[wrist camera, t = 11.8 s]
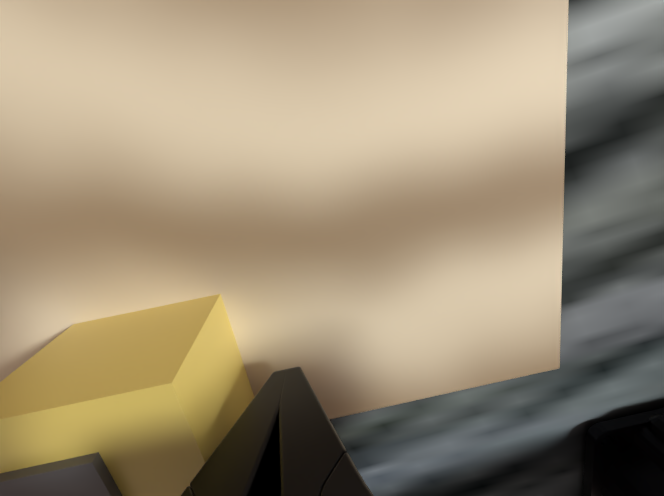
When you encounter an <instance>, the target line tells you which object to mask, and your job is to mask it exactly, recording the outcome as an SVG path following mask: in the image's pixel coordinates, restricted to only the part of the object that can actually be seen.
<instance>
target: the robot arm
mask: <svg viewBox="0 0 664 496" xmlns="http://www.w3.org/2000/svg"><path fill="white" fill-rule="evenodd" d="M181 496H374V495H373V494H372V492H371V491H370V490H369V488H368V487H367V485H366V484H365V482H364V480H363V479H362V477H361V475H360V474H359V472H358V470H357V469H356V467H355V465H354V463H353V462H352V460H351V458H350V456H349V454H348V453H347V451H346V449H345V447H344V445H343V444H342V442H341V440H340V438H339V436H338V434H337V433H336V431H335V429H334V427H333V425H332V423H331V422H330V420H329V418H328V416H327V414H326V413H325V411H324V409H323V407H322V405H321V403H320V402H319V400H318V398H317V396H316V394H315V392H314V391H313V389H312V387H311V385H310V383H309V381H308V380H307V378H306V376H305V374H304V372H303V370H302V369H301V367H293V368H289V369H284V370H279V371H275V372H273V373H272V374H271V376H270V377H269V378H268V380H267V381H266V382H265V384H264V385H263V386H262V388H261V389H260V390H259V392H258V393H257V394H256V396H255V397H254V398H253V400H252V401H251V402H250V404H249V405H248V406H247V408H246V409H245V410H244V412H243V413H242V414H241V416H240V417H239V418H238V420H237V421H236V422H235V424H234V425H233V427H232V428H231V429H230V431H229V432H228V433H227V435H226V436H225V437H224V439H223V440H222V441H221V443H220V444H219V445H218V447H217V448H216V449H215V451H214V452H213V453H212V455H211V456H210V457H209V459H208V460H207V461H206V463H205V464H204V465H203V467H202V468H201V469H200V471H199V472H198V473H197V475H196V476H195V477H194V479H193V480H192V481H191V483H190V486H188V487H187V488H186V489H185V490H184V492H183V493H182V494H181ZM583 496H664V408H661V409H656V410H652V411H647V412H643V413H638V414H634V415H630V416H625V417H621V418H616V419H612V420H607V421H603V422H599V423H596V424H594V425H593V426H591V427H590V428H589V430H588V431H587V434H586V445H585V462H584V479H583Z"/></svg>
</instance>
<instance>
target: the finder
mask: <svg viewBox="0 0 664 496" xmlns="http://www.w3.org/2000/svg"><path fill="white" fill-rule="evenodd" d="M253 398H254V394H253V391H252V388H251V385H250V382H249V379H248V376H247V373H246V370H245V367H244V364H243V361H242V358H241V355H240V352H239V349H238V345H237V342H236V339H235V336H234V333H233V330H232V327H231V324H230V321H229V318H228V315H227V312H226V309H225V306H224V303H223V300H222V297H221V294H217V295H212V296H207V297H202V298H198V299H193V300H188V301H183V302H178V303H173V304H169V305H164V306H159V307H154V308H149V309H145V310H140V311H135V312H130V313H125V314H120V315H116V316H111V317H106V318H101V319H96V320H92V321H87V322H82V323H77V324H73V325H72V326H70V327H69V328H68V329H67V330H65V331H64V332H63V333H62V334H60V335H59V336H58V337H57V338H55V339H54V340H53V341H51V342H50V343H49V344H48V345H46V346H45V347H44V348H43V349H41V350H40V351H39V352H38V353H36V354H35V355H34V356H33V357H31V358H30V359H29V360H27V361H26V362H25V363H24V364H22V365H21V366H20V367H19V368H17V369H16V370H15V371H14V372H12V373H11V374H10V375H9V376H7V377H6V378H5V379H3V380H2V381H1V382H0V496H181V494H182V493H183V492H184V490H185V489H186V488H187V487H188V486H190V483H191V481H192V480H193V479H194V477H195V476H196V475H197V473H198V472H199V471H200V469H201V468H202V467H203V465H204V464H205V463H206V461H207V460H208V459H209V457H210V456H211V455H212V453H213V452H214V451H215V449H216V448H217V447H218V445H219V444H220V443H221V441H222V440H223V439H224V437H225V436H226V435H227V433H228V432H229V431H230V429H231V428H232V427H233V425H234V424H235V422H236V421H237V420H238V418H239V417H240V416H241V414H242V413H243V412H244V410H245V409H246V408H247V406H248V405H249V404H250V402H251V401H252V400H253Z"/></svg>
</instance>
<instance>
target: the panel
mask: <svg viewBox="0 0 664 496" xmlns="http://www.w3.org/2000/svg"><path fill="white" fill-rule="evenodd" d="M567 41H568V0H0V382H1V381H2V380H3V379H5V378H6V377H7V376H9V375H10V374H11V373H12V372H14V371H15V370H16V369H17V368H19V367H20V366H21V365H22V364H24V363H25V362H26V361H27V360H29V359H30V358H31V357H33V356H34V355H35V354H36V353H38V352H39V351H40V350H41V349H43V348H44V347H45V346H46V345H48V344H49V343H50V342H51V341H53V340H54V339H55V338H57V337H58V336H59V335H60V334H62V333H63V332H64V331H65V330H67V329H68V328H69V327H70V326H72V325H73V324H77V323H82V322H87V321H92V320H96V319H101V318H106V317H111V316H116V315H120V314H125V313H130V312H135V311H140V310H145V309H149V308H154V307H159V306H164V305H169V304H173V303H178V302H183V301H188V300H193V299H198V298H202V297H207V296H212V295H217V294H221V297H222V300H223V303H224V306H225V309H226V312H227V315H228V318H229V321H230V324H231V327H232V330H233V333H234V336H235V339H236V342H237V345H238V349H239V352H240V355H241V358H242V361H243V364H244V367H245V370H246V373H247V376H248V379H249V382H250V385H251V388H252V391H253V394H254V397H255V396H256V394H257V393H258V392H259V390H260V389H261V388H262V386H263V385H264V384H265V382H266V381H267V380H268V378H269V377H270V376H271V374H272V373H273V372H275V371H279V370H284V369H289V368H293V367H301V369H302V370H303V372H304V374H305V376H306V378H307V380H308V381H309V383H310V385H311V387H312V389H313V391H314V392H315V394H316V396H317V398H318V400H319V402H320V403H321V405H322V407H323V409H324V411H325V413H326V414H327V416H328V418H329V419H333V418H338V417H342V416H347V415H351V414H356V413H360V412H365V411H369V410H374V409H378V408H383V407H387V406H392V405H396V404H401V403H405V402H410V401H414V400H419V399H423V398H428V397H432V396H437V395H441V394H446V393H450V392H455V391H459V390H464V389H468V388H473V387H477V386H482V385H486V384H491V383H495V382H500V381H504V380H509V379H513V378H518V377H522V376H527V375H531V374H536V373H540V372H545V371H549V370H554V369H558V368H560V329H561V287H562V246H563V205H564V164H565V123H566V82H567Z"/></svg>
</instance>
